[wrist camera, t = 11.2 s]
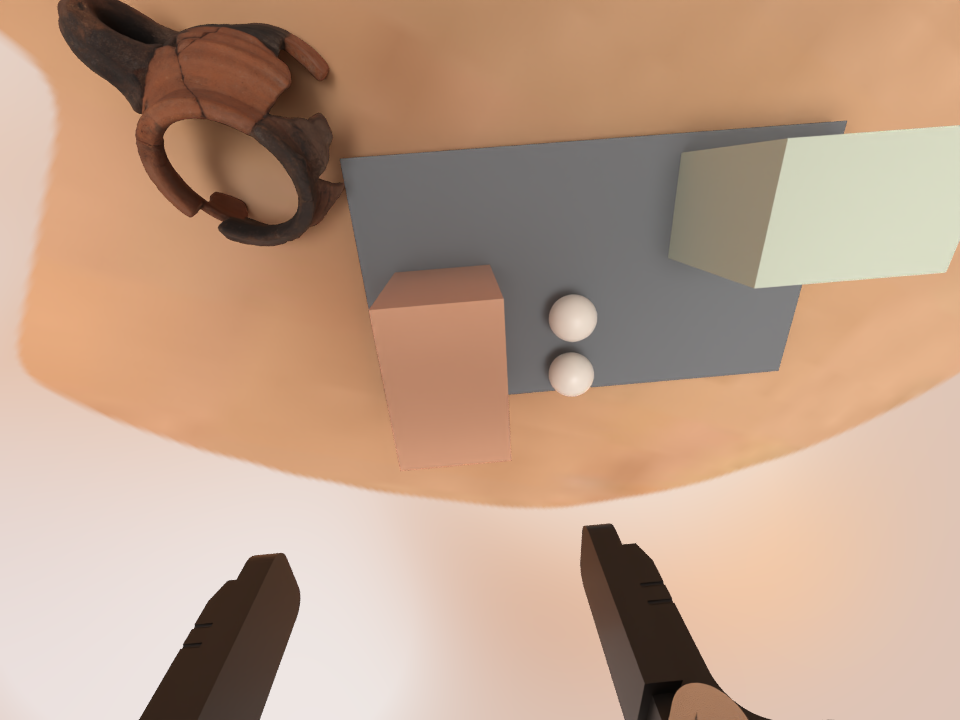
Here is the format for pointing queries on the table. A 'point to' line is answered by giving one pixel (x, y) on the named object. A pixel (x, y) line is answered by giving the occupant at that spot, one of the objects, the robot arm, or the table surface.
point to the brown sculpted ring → (209, 102)
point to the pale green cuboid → (821, 207)
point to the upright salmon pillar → (444, 366)
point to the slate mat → (575, 251)
